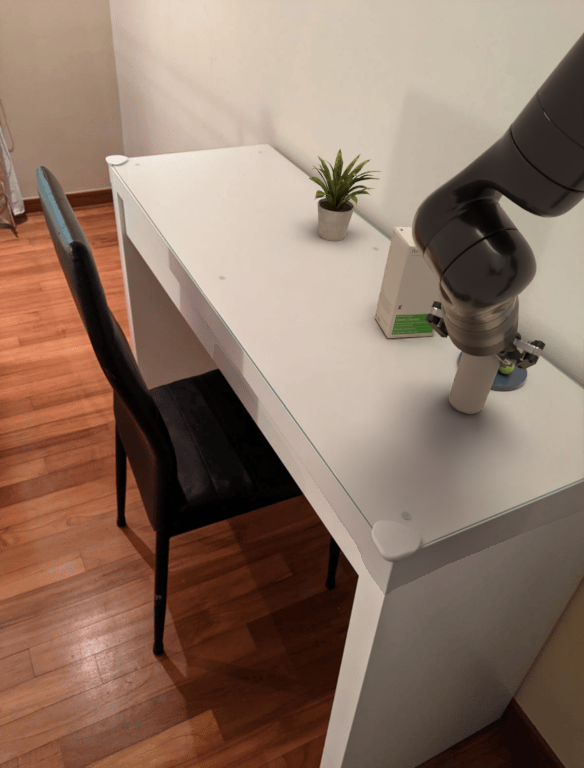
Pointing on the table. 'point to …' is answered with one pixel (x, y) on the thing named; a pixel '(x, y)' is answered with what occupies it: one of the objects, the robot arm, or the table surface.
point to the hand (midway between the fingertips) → (485, 352)
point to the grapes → (506, 377)
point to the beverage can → (473, 382)
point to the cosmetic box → (406, 289)
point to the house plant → (338, 197)
